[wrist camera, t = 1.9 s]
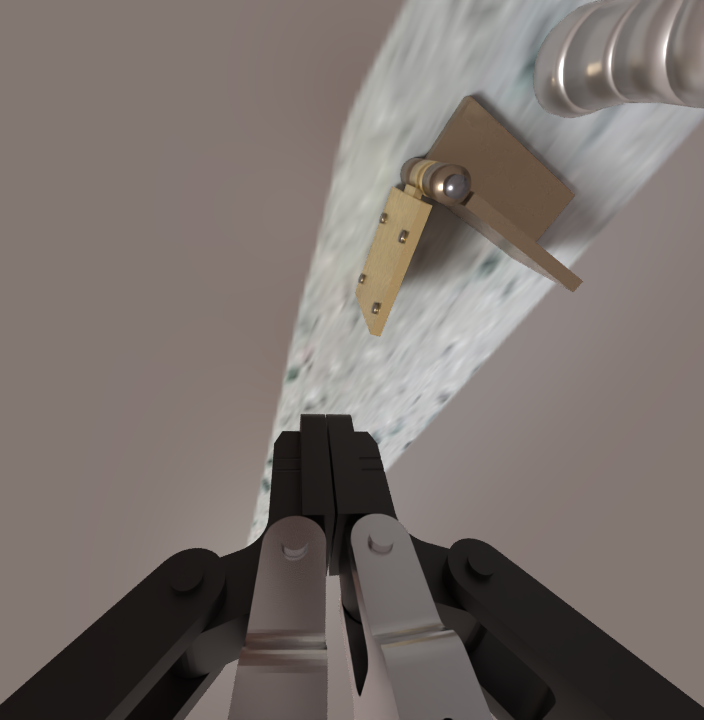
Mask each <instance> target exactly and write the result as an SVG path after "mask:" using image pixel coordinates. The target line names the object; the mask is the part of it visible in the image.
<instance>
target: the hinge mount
mask: <svg viewBox="0 0 704 720" xmlns="http://www.w3.org/2000/svg"><path fill="white" fill-rule="evenodd" d="M423 160H432V161H438V162H437V163H434V164H432V165H431V166H429V167H428V168H427V170H426V171H425V173H424V175H423V178H422V189H423V191H424V193H425V194H426V196H428V197H429V198H431V199H433V200H435V201H437V202H440V203H442V204H443V205H445V206H446V207H447V208H449V209H450V210H451V211H452V212H454V213H455V214H456V215H458V216H459V217H460V218H461V219H463V220H464V221H465V222H467V223H468V224H469V225H470V226H472V227H473V228H474V229H476V230H477V231H478V232H480V233H481V234H482V235H483V236H485V237H486V238H487V239H489V240H490V241H491V242H492V243H494V244H495V245H496V246H498V247H499V248H500V249H501V250H503V251H504V252H505V253H507V254H508V255H509V256H510V257H512V258H513V259H515V260H517V261H518V262H520V263H522V264H524V265H525V266H527V267H529V268H531V269H533V270H534V271H536V272H538V273H540V274H542V275H543V276H545V277H547V278H549V279H550V280H552V281H554V282H556V283H558V284H559V285H561V286H563V287H565V288H566V289H568V290H570V291H572V292H574V291H575V290H576V289H577V287H578V286H579V285H580V284H581V283H582V282H583V281H582V280H581V279H580V278H578V277H577V276H576V275H575V274H573V273H572V272H571V271H570V270H569V269H567V268H566V267H565V266H564V265H563V264H561V263H560V262H559V261H558V260H556V259H555V258H554V257H553V256H552V255H550V254H549V253H548V252H547V251H546V250H544V249H543V248H542V247H541V246H539V245H538V244H537V243H536V241H537V240H538V239H539V238H540V236H541V235H542V234H543V233H544V232H545V230H546V229H547V228H548V227H549V226H550V224H551V223H552V222H553V221H554V220H555V218H556V217H557V216H558V215H559V214H560V212H561V211H562V210H563V209H564V208H565V206H566V205H567V204H568V203H569V202H570V200H571V199H572V198H573V197H574V196H575V195H574V194H573V193H572V192H571V191H570V190H569V189H568V188H567V187H566V186H565V185H564V184H563V183H562V182H561V181H560V180H559V179H558V178H556V177H555V176H554V175H553V174H552V173H551V172H550V171H549V170H548V169H547V168H546V167H545V166H544V165H543V164H542V163H541V162H540V161H539V160H537V159H536V158H535V157H534V156H533V155H532V154H531V153H530V152H529V151H528V150H527V149H526V148H525V147H524V146H523V145H522V144H521V143H520V142H518V141H517V140H516V139H515V138H514V137H513V136H512V135H511V134H510V133H509V132H508V131H507V130H506V129H505V128H504V127H503V126H502V125H501V124H499V123H498V122H497V121H496V120H495V119H494V118H493V117H492V116H491V115H490V114H489V113H488V112H487V111H486V110H485V109H484V108H483V107H482V106H480V105H479V104H478V103H477V102H476V101H475V100H474V99H473V98H472V97H471V96H466V97H464V98H463V100H462V101H461V103H460V104H459V106H458V107H457V109H456V110H455V112H454V113H453V115H452V117H451V118H450V120H449V121H448V123H447V124H446V126H445V127H444V129H443V130H442V132H441V133H440V135H439V136H438V138H437V140H436V141H435V143H434V144H433V146H432V147H431V149H430V150H429V152H428V153H427V155H426V156H425V158H424V159H421V158H411V159H409V160H408V161H406V162H405V163H404V165H403V166H402V169H401V173H400V176H401V181H402V183H403V184H404V186H406V184H408V185H411V182H410V176H411V172H412V169H413V168H414V166H415V165H416V164H417V163H419V162H420V161H423ZM411 186H412V185H411Z"/></svg>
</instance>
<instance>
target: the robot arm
mask: <svg viewBox="0 0 704 720" xmlns="http://www.w3.org/2000/svg"><path fill="white" fill-rule="evenodd" d="M328 566H329V575H330V576H333V575H339V577H340V587H341V594H340V601H339V612H340V618H341V624H342V631H343V637H344V643H345V649H346V656H347V662H348V668H349V675H350V681H351V687H352V694H353V701H354V720H493V718H492V716H491V713H492V714H493V715H494V716H495V717H496V718H497V719H498V720H704V707H702V706H701V705H700V704H698V703H697V702H696V701H694V700H693V699H692V698H690V697H689V696H688V695H687V694H685V693H684V692H683V691H681V690H680V689H679V688H677V687H676V686H675V685H673V684H672V683H671V682H669V681H668V680H667V679H666V678H664V677H663V676H661V675H660V674H659V673H658V672H656V671H655V670H654V669H652V668H651V667H650V666H648V665H647V664H646V663H645V662H643V661H642V660H640V659H639V658H638V657H637V656H635V655H634V654H633V653H631V652H630V651H629V650H627V649H626V648H625V647H624V646H622V645H621V644H619V643H618V642H617V641H616V640H614V639H613V638H612V637H610V636H609V635H608V634H606V633H605V632H603V630H601V629H600V628H599V627H597V626H596V625H595V624H593V623H592V622H591V621H589V620H588V619H587V618H585V617H584V616H583V615H582V614H580V613H579V612H578V611H576V610H575V609H574V608H572V607H571V606H570V605H568V604H567V603H565V602H564V601H563V600H562V599H560V598H559V597H558V596H556V595H555V594H554V593H553V592H551V591H550V590H549V589H547V588H546V587H545V586H543V585H542V584H541V583H539V582H538V581H537V580H536V579H534V578H533V577H532V576H530V575H529V574H528V573H526V572H525V571H524V570H522V569H521V568H520V567H519V566H517V565H516V564H514V563H513V562H512V561H510V560H509V559H508V558H507V557H505V556H504V555H503V554H501V553H500V552H499V551H498V550H496V549H495V548H493V547H492V546H491V545H489V544H487V543H485V542H483V541H480V540H477V539H470V538H467V539H461V540H459V541H457V542H455V543H454V544H453V545H452V546H451V548H450V549H448V548H444V547H440V546H437V545H433V544H430V543H426V542H424V541H421V540H419V539H417V538H415V537H413V536H412V535H411V534H409V533H408V531H407V530H406V528H405V527H404V526H403V525H402V524H401V523H400V522H399V521H398V519H397V517H396V514H395V510H394V506H393V502H392V499H391V495H390V491H389V487H388V483H387V479H386V475H385V472H384V468H383V464H382V460H381V456H380V452H379V449H378V445H377V443H376V442H375V440H374V439H373V438H372V437H371V435H370V434H369V433H368V432H354V429H353V423H352V418H351V415H341V414H326V418H325V414H301V417H300V431H282V433H281V434H280V436H279V437H278V439H277V440H276V442H275V443H274V454H273V467H272V480H271V493H270V506H269V518H268V523H267V526H266V528H265V530H264V532H263V533H262V535H261V536H260V537H259V538H258V539H257V540H256V541H255V542H254V543H252V544H251V545H250V546H248V547H246V548H244V549H242V550H240V551H237V552H234V553H231V554H228V555H225V556H223V557H219V556H218V555H217V554H216V553H214V552H212V551H210V550H207V549H202V548H192V549H188V550H184V551H181V552H179V553H176V554H174V555H173V556H171V557H170V558H169V559H167V560H166V561H164V562H163V563H162V564H161V565H160V566H159V567H157V569H155V570H154V571H153V572H152V573H151V574H150V575H148V576H147V577H146V578H145V579H144V580H143V581H142V582H140V583H139V584H138V585H137V586H136V587H135V588H133V589H132V590H131V591H130V592H129V593H128V594H127V595H125V597H123V598H122V599H121V600H120V601H119V602H117V603H116V604H115V605H114V606H113V607H112V608H111V609H109V610H108V611H107V612H106V613H105V614H104V615H103V616H102V617H100V618H99V619H98V620H97V621H96V622H95V623H93V624H92V625H91V626H90V627H89V628H88V629H87V630H85V631H84V632H83V633H82V634H81V635H80V636H78V637H77V638H76V639H75V640H74V641H73V642H72V643H70V644H69V645H68V646H67V647H66V648H65V649H64V650H63V651H61V652H60V653H59V654H58V655H57V656H56V657H54V658H53V659H52V660H51V661H50V662H49V663H48V664H46V665H45V666H44V667H43V668H42V669H41V670H40V671H38V672H37V673H36V674H35V675H34V676H33V677H32V678H30V679H29V680H28V681H27V682H26V683H25V684H24V685H22V686H21V687H20V688H19V689H18V690H17V691H15V692H14V693H13V694H12V695H11V696H10V697H9V698H7V699H6V700H5V701H4V702H3V703H2V704H1V705H0V720H184V719H185V718H186V716H187V715H188V714H189V712H190V711H191V710H192V709H193V707H194V706H195V705H196V703H197V702H198V701H199V699H200V698H201V697H202V696H203V694H204V693H205V692H206V690H207V689H208V688H209V687H210V685H211V684H212V683H213V681H214V680H215V679H216V677H217V676H218V675H219V674H220V672H221V671H222V670H223V668H224V667H225V665H226V664H228V663H230V662H232V661H234V660H237V659H239V660H238V665H237V670H236V676H235V681H234V687H233V693H232V698H231V704H230V709H229V715H228V720H327V692H328V690H327V689H328V682H327V681H328V680H327V679H328V658H327V645H326V642H325V616H326V576H327V569H328ZM490 712H491V713H490Z"/></svg>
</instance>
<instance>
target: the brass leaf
mask: <svg viewBox="0 0 704 720" xmlns="http://www.w3.org/2000/svg"><path fill="white" fill-rule="evenodd" d="M437 162H438V161H432V160H423V161H420V162H419V163H417V164H416V165H415V166H414V168H413V169H412V172H411V176H410V182H411V185H412V186H411V185H408V184H406V187H405V190H404V191H402V190H400V189H397V188H395V187H392V188H391V191H390V193H389V196H388V199H387V202H386V205H385V208H384V211H383V213H382V214H381V217H380V221H379V225H378V228H377V231H376V234H375V237H374V240H373V243H372V245H371V248H370V251H369V254H368V257H367V260H366V263H365V266H364V269H363V271H362V273H361V275H360V277H359V283H358V286H357V289H356V292H355V294H356V296H357V299H358V302H359V305H360V307H361V310H362V313H363V315H364V318H365V321H366V324H367V326H368V329H369V332H370V334H372V335H376V336H381V333H382V331H383V328H384V326H385V323H386V321H387V318H388V316H389V313H390V311H391V308H392V306H393V303H394V301H395V298H396V296H397V293H398V291H399V288H400V286H401V283H402V281H403V278H404V276H405V273H406V271H407V268H408V266H409V263H410V261H411V258H412V256H413V253H414V251H415V248H416V246H417V243H418V241H419V238H420V236H421V233H422V231H423V228H424V226H425V223H426V221H427V218H428V216H429V213H430V211H431V208H432V205H430V204H428V203H426V202H424V201H422V200H420V199H421V196H422V195H424V196H426V194H425V193H424V191H423V189H422V178H423V175H424V173H425V171H426V170H427V168H428V167H429V166H431V165H432V164H434V163H437ZM427 197H428V196H427Z"/></svg>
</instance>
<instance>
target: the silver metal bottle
mask: <svg viewBox="0 0 704 720" xmlns="http://www.w3.org/2000/svg"><path fill="white" fill-rule="evenodd" d="M533 84H534V91H535V95H536V98H537V100H538V102H539V104H540V105H541V106H542V107H543V109H545V110H546V111H547V112H549V113H551V114H554V115H557V116H560V117H563V118H575V117H580V116H584V115H587V114H591V113H593V112H595V111H598V110H600V109H603V108H606V107H611V106H616V105H620V104H625V103H639V102H640V103H666V104H673V105H680V106H688V107H694V108H704V0H603V1H598V2H593V3H588V4H585V5H583V6H581V7H578V8H577V9H576V10H574V11H573V12H571V13H570V14H569V15H567V16H566V17H565V18H564V19H562V20H561V21H560V22H559V23H558V24H557V25H556V26H555V27H554V28H553V29H552V30H551V31H550V33H549V34H548V35H547V37H546V38H545V40H544V42H543V44H542V46H541V47H540V50H539V53H538V55H537V58H536V62H535V66H534V74H533Z"/></svg>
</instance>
